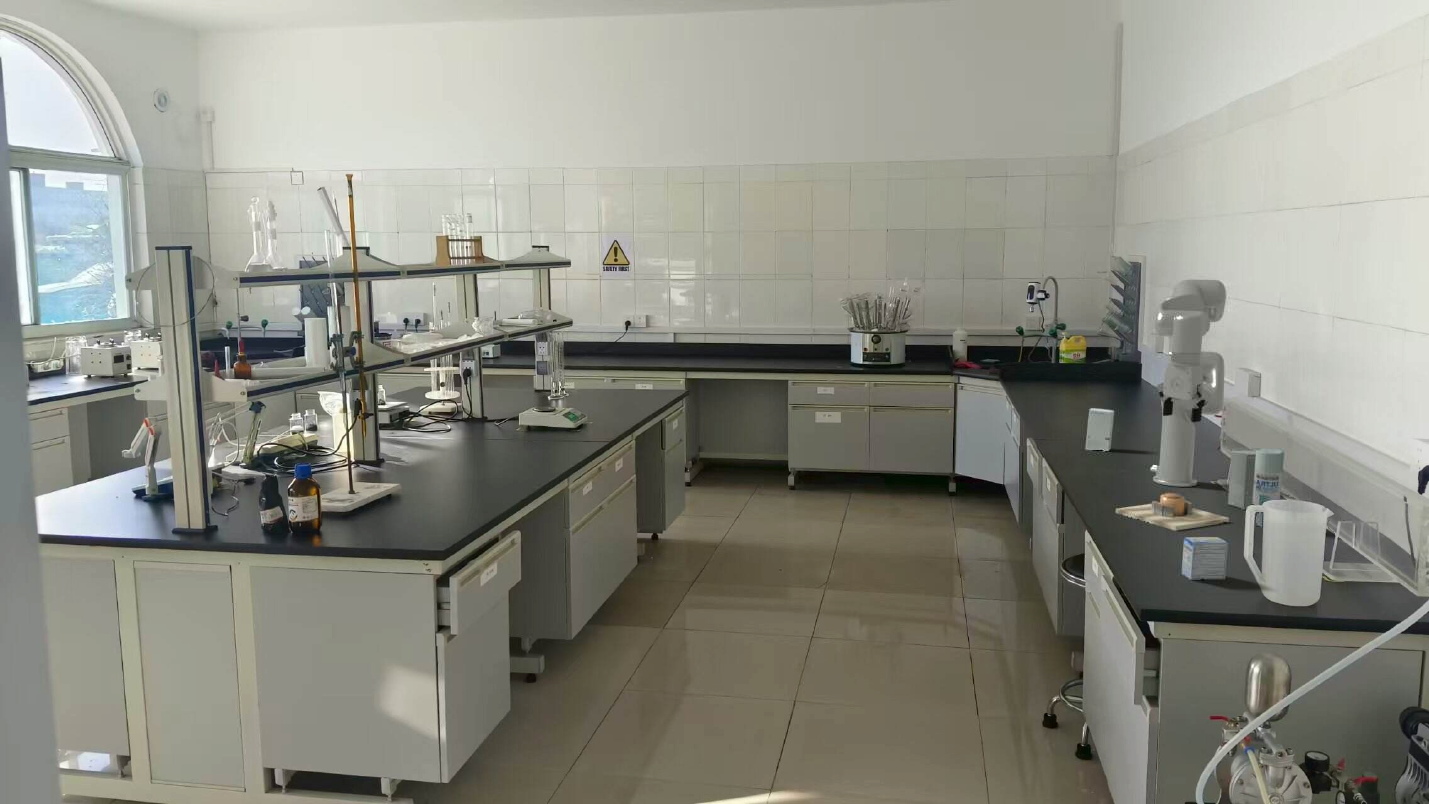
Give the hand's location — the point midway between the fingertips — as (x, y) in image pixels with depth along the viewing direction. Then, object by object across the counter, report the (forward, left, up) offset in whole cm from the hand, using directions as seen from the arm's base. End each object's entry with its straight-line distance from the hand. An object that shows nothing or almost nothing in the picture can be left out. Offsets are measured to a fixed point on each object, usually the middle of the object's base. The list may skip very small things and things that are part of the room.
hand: (1181, 418), depth 293 cm
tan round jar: (+10, -13, -24) cm, 29 cm away
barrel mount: (+10, -13, -25) cm, 30 cm away
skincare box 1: (-70, +42, -25) cm, 86 cm away
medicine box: (+50, -49, -25) cm, 74 cm away
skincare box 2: (+10, +17, -25) cm, 32 cm away
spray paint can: (+26, +3, -25) cm, 36 cm away
